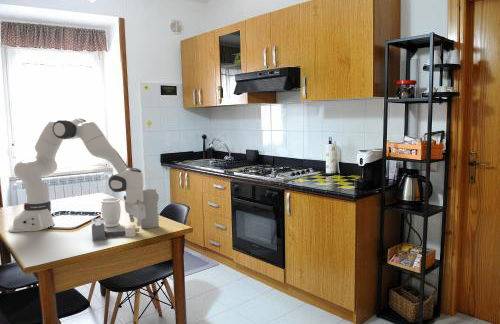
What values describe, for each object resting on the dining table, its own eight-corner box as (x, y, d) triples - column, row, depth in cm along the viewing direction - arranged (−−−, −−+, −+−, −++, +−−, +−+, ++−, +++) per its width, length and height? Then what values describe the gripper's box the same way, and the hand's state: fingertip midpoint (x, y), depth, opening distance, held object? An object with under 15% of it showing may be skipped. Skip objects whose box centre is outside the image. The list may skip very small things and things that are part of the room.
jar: (101, 224, 226) (100, 198, 224) (120, 222, 230) (119, 197, 228) (102, 228, 216) (101, 202, 215) (122, 226, 220) (121, 200, 219)
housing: (92, 241, 195) (91, 224, 194) (92, 234, 207) (91, 218, 206) (105, 239, 197) (104, 223, 196) (104, 232, 209) (104, 217, 208)
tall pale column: (141, 229, 215) (139, 190, 213) (139, 227, 219) (138, 189, 216) (160, 227, 220) (159, 188, 217) (158, 225, 223) (157, 187, 221)
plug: (101, 238, 200) (100, 230, 199) (101, 235, 204) (101, 227, 204) (139, 235, 205) (139, 227, 204) (139, 232, 209) (139, 224, 209)
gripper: (148, 201, 201) (148, 227, 202) (133, 194, 217) (134, 218, 218) (136, 203, 197) (137, 229, 198) (122, 195, 213) (123, 220, 215)
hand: (135, 223), depth 209 cm, fingers open, 8 cm apart
